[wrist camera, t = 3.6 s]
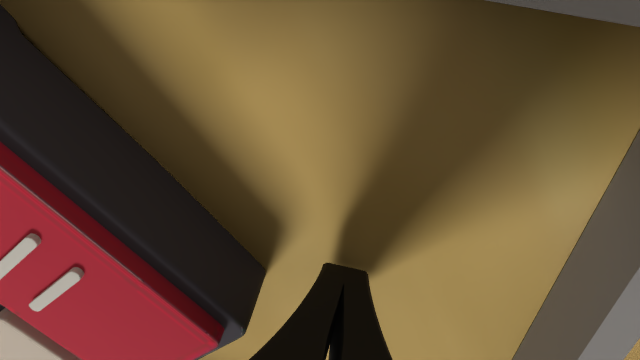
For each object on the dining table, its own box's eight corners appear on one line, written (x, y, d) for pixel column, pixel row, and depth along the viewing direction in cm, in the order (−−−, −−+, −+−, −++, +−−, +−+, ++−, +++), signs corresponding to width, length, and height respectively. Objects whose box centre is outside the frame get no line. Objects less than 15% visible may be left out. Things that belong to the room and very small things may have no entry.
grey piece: (-55, 349, 21) (-109, 396, 18) (-286, -187, 11) (-458, -220, 9) (470, 481, 19) (479, 550, 17) (774, -14, 9) (893, -1, 7)
